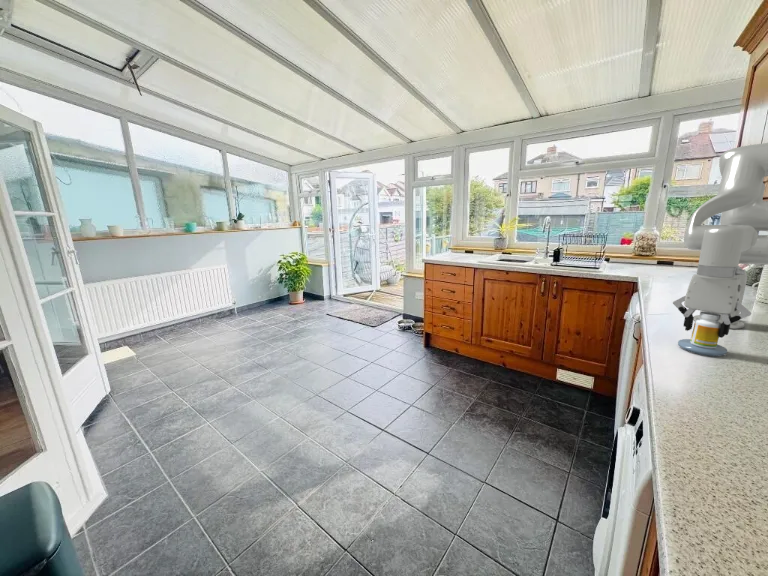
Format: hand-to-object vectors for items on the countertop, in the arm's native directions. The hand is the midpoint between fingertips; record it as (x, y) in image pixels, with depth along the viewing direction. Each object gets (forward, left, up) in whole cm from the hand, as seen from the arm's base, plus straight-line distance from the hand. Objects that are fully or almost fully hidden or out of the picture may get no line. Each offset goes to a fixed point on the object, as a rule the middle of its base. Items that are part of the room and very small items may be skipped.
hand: (704, 332), depth 89 cm
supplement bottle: (0, 0, -4) cm, 4 cm away
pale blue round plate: (0, 0, -6) cm, 6 cm away
